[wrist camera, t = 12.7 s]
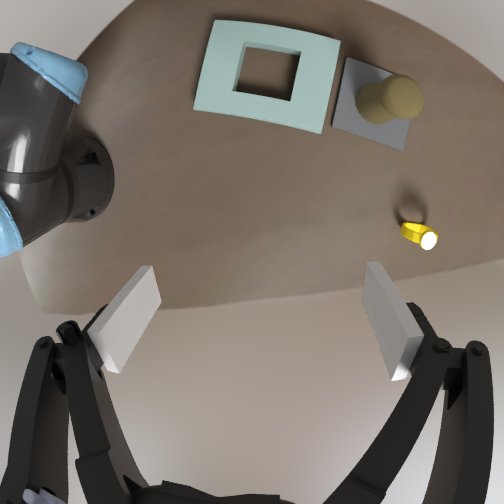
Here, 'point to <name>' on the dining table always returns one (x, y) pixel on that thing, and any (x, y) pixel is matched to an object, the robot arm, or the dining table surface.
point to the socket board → (260, 107)
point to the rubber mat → (348, 114)
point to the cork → (390, 99)
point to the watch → (420, 234)
